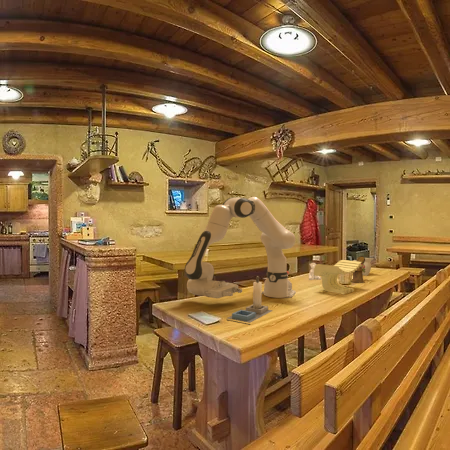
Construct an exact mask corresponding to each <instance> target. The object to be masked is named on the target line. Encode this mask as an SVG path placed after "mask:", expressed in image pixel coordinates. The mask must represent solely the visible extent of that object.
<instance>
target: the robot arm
mask: <svg viewBox="0 0 450 450" xmlns="http://www.w3.org/2000/svg"><path fill="white" fill-rule="evenodd" d="M248 217H249V218H250V219H251V221H252V222H253V224H255V226H256V228H257V229H258V230H259V231H260V232H261V235H260V241H261V243H262V244H263V246H264V248H265V253H266V257H267V271H266V279H265V280H264V284H263V285H264V286H263V290H262V294H263V295H264V296H265V297H269V298H275V299H276V298H277V299H278V298H279V299H280V298H281V299H282V298H292V297H293V296H294V295H295V294H296V292H297V291H296V290H294V289H293V283H292V282H291V281H290V280H289V277H288V276H289V274H290V272H289V271H288V270H287V269H288V268H287V267H288V266H287V261H288V260H287V257H286V256H285V254H284V251H283V250H287V249H292V248H293V247H294V246H295V244H296V241H297V239H296V235H295V234H294V233H293V232H292V231H290V230H289V229H287V228H286V227H285V226H284V225H283V224H282V223H280V222H279V221H278V220H277V219H276V218H275V216H274V215H273V214H272V212H271V211H270V210H269V209H268V207H267V206H266V205H265V203H264V202H263V201H262V200H261V199H260V198H258V197H256V196H251V197H249V198H247V197H246V198H245V197H238V196H236V197H229V198H226V200H225V201H224V202H223V203H222V204H217V205H215V206H214V208H213V209H212V212H211V214H210V216H209V218H208V222H207V223H206V224H207V225H206V227H205V229H204V231H203V232H202V233H201V234H200V236H199V238H198V240H197V242H196V245H195V247H194V249H193V251H192V254H191V256H190V257H189V259H188V260H187V262H186V264H185V266H184V273H185V276H186V278H187V279H188V280H187V283H186V288H187V291H188V292H189V293H191V294H192V295H195V296H200V297H203V296H205V297H207V298H213V299H221V298H224V297H233V295H234V294H235V293H238V294H241V293H243V288H239V285H238V284H236V283H232V282H226V281H225V280H213V279H214V275H215V267H214V265H213V264H212V263H210V262H206V261H203V259H204V257H205V255H206V253H207V251H208V248H209V247H210V246H211V245H212V244H214V243H217V242H220V241H222V240H223V239H224V238H225V236H226V235H227V231H228V228H229V225H230V222H231V220H232V219H233V218H240V219H241V218H242V219H244V218H248ZM262 294H261V295H262Z"/></svg>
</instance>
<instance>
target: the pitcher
mask: <svg viewBox="0 0 450 450" xmlns="http://www.w3.org/2000/svg"><path fill="white" fill-rule="evenodd" d="M364 258H365V262H364V263H363V264H361V267H362V274H363V277H364V276H368V275H370V273H371V270H372V263H371V262H372V261H373V260H374V259H375V258H371V257H364ZM352 261H357V259H354V260H352Z"/></svg>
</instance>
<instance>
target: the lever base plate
mask: <svg viewBox="0 0 450 450" xmlns="http://www.w3.org/2000/svg"><path fill="white" fill-rule="evenodd" d="M273 311H274V310H273V309H272V310H271V309H269V306H266V305H262V304H261V309H255V308H253V304H251V305H249V306H246V307H245V309H240V310H237V311H235V312H233V313H231V316H228V317H227V318H226V320H225V321H227V322H232V323H239V324H244V325H249V326H250V325H252V324H250V323H252V322H254V321H256V320H257V319H260V318H262V317H263V316H265V315H268V314H269V313H272V312H273Z"/></svg>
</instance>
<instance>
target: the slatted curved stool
mask: <svg viewBox="0 0 450 450" xmlns="http://www.w3.org/2000/svg"><path fill="white" fill-rule="evenodd" d="M316 264H317V265H316V266H315V267H314V275H315V276H320V277H321V288H322V289H323V291H325V292H330V293H335V294H342V295H347V294H349V293H353V292H355V289H354V288H353V287H347V286H345V285H341V284H339V283H338V281H337V280H338V277H339V275H348V274H352V273H353V272H355V270H357V268H359V267H360V266H361V262H357V261H353V260H347V259H341V260H338V261H337V263H335V264H333V265H329V264H324V263H323V264H322V263H316Z"/></svg>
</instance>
